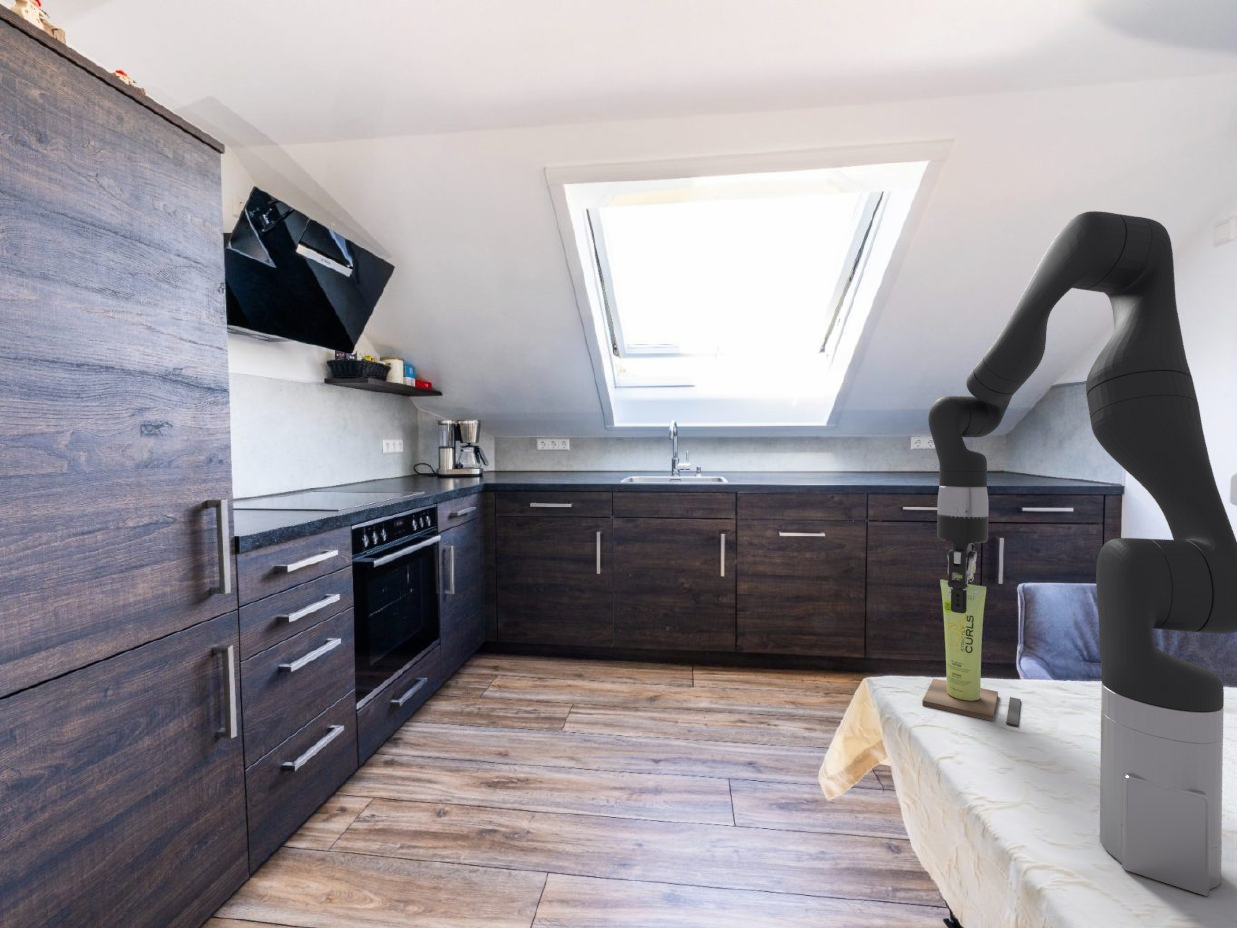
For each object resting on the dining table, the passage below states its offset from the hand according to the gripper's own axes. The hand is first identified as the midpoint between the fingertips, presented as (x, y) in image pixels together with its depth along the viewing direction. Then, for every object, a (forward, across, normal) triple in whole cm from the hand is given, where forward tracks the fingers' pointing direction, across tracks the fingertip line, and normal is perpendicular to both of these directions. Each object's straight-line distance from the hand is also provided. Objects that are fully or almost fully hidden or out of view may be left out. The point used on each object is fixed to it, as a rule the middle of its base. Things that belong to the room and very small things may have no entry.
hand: (961, 607), depth 99 cm
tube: (+15, 0, 0) cm, 16 cm away
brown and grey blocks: (+16, 0, -2) cm, 16 cm away
